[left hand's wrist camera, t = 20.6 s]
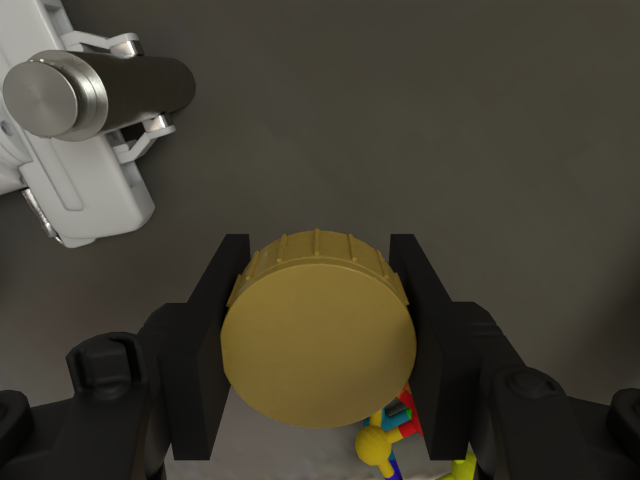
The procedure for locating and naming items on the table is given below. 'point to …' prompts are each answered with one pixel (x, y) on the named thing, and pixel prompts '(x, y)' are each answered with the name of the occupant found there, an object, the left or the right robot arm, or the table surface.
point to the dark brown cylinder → (93, 92)
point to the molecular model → (389, 429)
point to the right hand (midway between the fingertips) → (154, 83)
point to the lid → (318, 331)
